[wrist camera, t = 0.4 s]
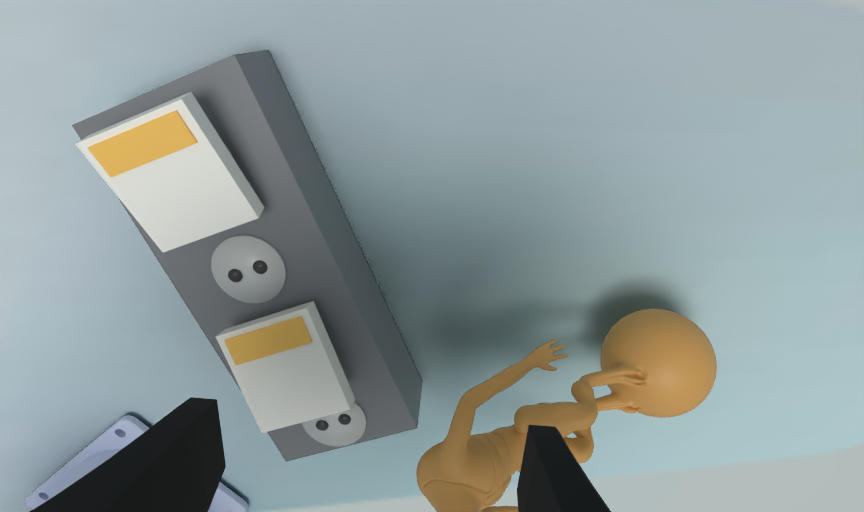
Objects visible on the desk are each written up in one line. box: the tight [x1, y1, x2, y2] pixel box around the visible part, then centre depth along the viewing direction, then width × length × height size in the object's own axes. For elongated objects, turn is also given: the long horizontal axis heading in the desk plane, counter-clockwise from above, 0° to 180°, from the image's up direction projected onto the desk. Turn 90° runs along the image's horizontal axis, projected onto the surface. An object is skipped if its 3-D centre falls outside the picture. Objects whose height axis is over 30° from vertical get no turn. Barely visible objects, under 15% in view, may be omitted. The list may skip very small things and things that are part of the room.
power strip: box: [72, 50, 422, 461], centre depth 20 cm, size 15×6×3 cm, turn 20°
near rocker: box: [76, 92, 264, 252], centre depth 16 cm, size 4×4×1 cm
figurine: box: [416, 309, 717, 512], centre depth 18 cm, size 8×6×12 cm
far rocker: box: [216, 301, 355, 433], centre depth 19 cm, size 4×4×1 cm
